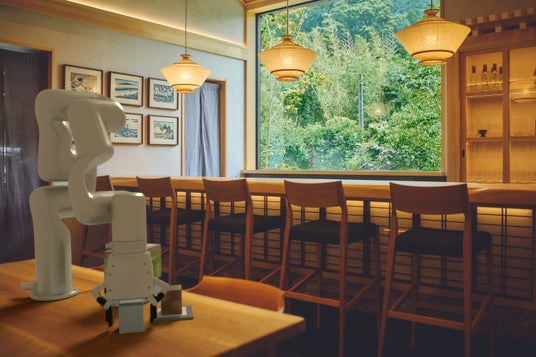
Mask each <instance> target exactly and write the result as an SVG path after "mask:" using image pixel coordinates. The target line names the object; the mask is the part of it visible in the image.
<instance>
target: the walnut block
mask: <svg viewBox="0 0 536 357" xmlns="http://www.w3.org/2000/svg"><path fill="white" fill-rule="evenodd" d="M161 289H162V288H161ZM182 289H183V288H182V284H174V285H170V284H169V289H168V290H167V292H166V294H165V295H164V297H163V298H162V299H161V301H160V307H161V316H164V315H177V314H182V306H183V300H182V299H183V294H182Z"/></svg>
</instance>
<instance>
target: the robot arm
mask: <svg viewBox="0 0 536 357" xmlns="http://www.w3.org/2000/svg"><path fill="white" fill-rule="evenodd" d="M34 101H35V103H34V114H35V118H36V121H37V126H38V132H39V136H38V137H39V139H38V152H37V154H38V155H37V174H38V177H39V178H40V179H41V180H42V181H44V182H50V183H65V182H67V185H63V184H60V185H44V186H40V187H37V188H35V189H34V190H32V192H31V193H30V195H29V198H28V199H29V209H30V213H31V216H32V223H33V224H32V225H33V234H34V235H33V238H34V263H35V265H34V268H35V269H34V270H35V271H34V272H35V280H34V281H32V282H20V284H19V290H21V292H22V291H23V292H25V291H30V294H29V298H30V299H31V300H34V301H40V302H45V301H46V302H48V301H57V300H63V299H67V298H70V297H71V298H72V297H73V296H76V295H77V294H78V292H79V290H78V287H77V286H73V273H72V270H73V269H72V268H73V267H72V244H71V243H72V240H71V239H72V238H71V237H72V236H71V232H70V230H69V228H68V226H67V225H66V224H65V223H64V222H63V221H62V219H67V218H75V219H76V221H78V222H79V223H80V224H82V225H85V226H92V225H93V226H95V225H102V224H111V241H110V242H108V243H105V246H104V247H105V250H111V251H112V254H110V255H109V257H108V263H107V280H106V281H104V280H103V282H101V283H100V284H98V285H97V286H95V287H93V288H92V289H91V291H90V294H91V295H92V296H93V298H94V299H95V300H96V303H98V304H99V305H100V306H101V307H102V308H103V310H104V311H105V315H104V316H105V317H104V318H105V323H108V328H112V327H113V325H114V307H112V303H113V301H116V300H132V299H144V298H147V299H148V302H149V303H150V304H149V319H150V320H149V322H150V324H152V325H153V324H155V322H154V319H156V318H157V308H158V307H157V306H158V304H159V303H161V299H162V298H163V297H164V295H165V294H166V292H167V290H168V289H169V285H170V284H169V283H167V282H165V281H164V280H162V279H161V280H160V279H158V278H156V277H154V276H153V265H152V259H151V254H150V252H149V251H147V244H148V241H147V240H148V238H147V235H148V234H147V201H146V200H147V198H146V196H145V194H143V193H142V192H134V191H133V192H131V191H128V190H104V191H103V190H99V191H96V187H97V177H98V167H99V166H101V165H103V164H105V163H107V162H108V161H109V160H111V159H112V158H113V156H114V154H115V149H114V145H113V141H112V139H111V135H110V134H115V133H116V134H118V133H120V132H122V131H123V130H124V128H125V127H126V123H127V116H126V112H125V109H124V107H123V106H122V105H121V104H120V103H119V102H118V101H117V100H114V99H113V98H110V97H108V96H106V95H104V94H101V93H97V92H92V91H91V92H90V91H81V90H74V89H73V90H72V89H61V88H47V89H43V90H40V92H38V94H37V95H36V98H35V100H34ZM67 122H68V123H67ZM73 142H74V146H75V148H73ZM154 284H155V285H157V286H159V287H161V288H162V289H161V291H160V292H159V293H158V294H157V296H155V295H154V294H153V292H154ZM104 288H106V292H107V298H108V299H107V300H106V299H105V298H104V295H102V294H101V292H102V291H104Z"/></svg>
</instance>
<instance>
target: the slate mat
mask: <svg viewBox="0 0 536 357" xmlns="http://www.w3.org/2000/svg"><path fill="white" fill-rule="evenodd" d="M181 320H182V321H184V320H194V313H193V307H192V305H191V304H187V305H182V314H177V315H164V316H161V306H160V307H157V318H156V319H154V323H159V322H160V323H161V322H170V321H172V322H173V321H181Z"/></svg>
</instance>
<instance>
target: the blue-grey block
mask: <svg viewBox="0 0 536 357" xmlns="http://www.w3.org/2000/svg"><path fill="white" fill-rule="evenodd" d="M144 324H145V323H144V303H143V299H137V300H123V301H120V304H119V307H118V328H119V331H118V333H119V334H129V333H130V334H131V333H142V332H143V331H144V326H145V325H144Z"/></svg>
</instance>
